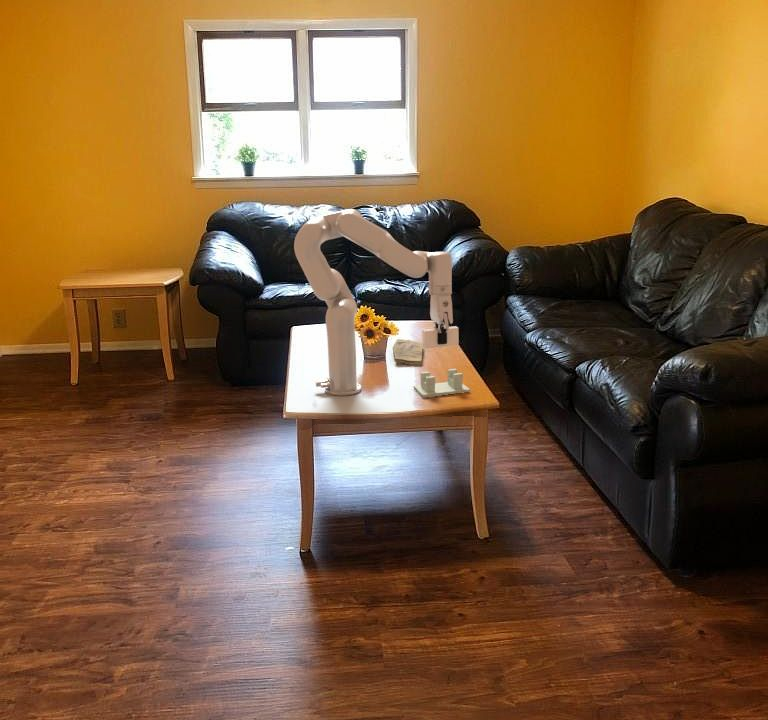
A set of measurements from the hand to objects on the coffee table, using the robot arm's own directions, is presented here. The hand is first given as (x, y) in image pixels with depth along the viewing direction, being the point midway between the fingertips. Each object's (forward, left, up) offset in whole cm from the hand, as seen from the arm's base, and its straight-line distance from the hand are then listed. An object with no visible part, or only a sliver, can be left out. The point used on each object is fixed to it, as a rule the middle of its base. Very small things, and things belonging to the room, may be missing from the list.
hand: (440, 342), depth 257 cm
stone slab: (+3, +46, -18) cm, 50 cm away
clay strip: (0, 0, -1) cm, 1 cm away
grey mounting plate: (0, 0, -17) cm, 17 cm away
